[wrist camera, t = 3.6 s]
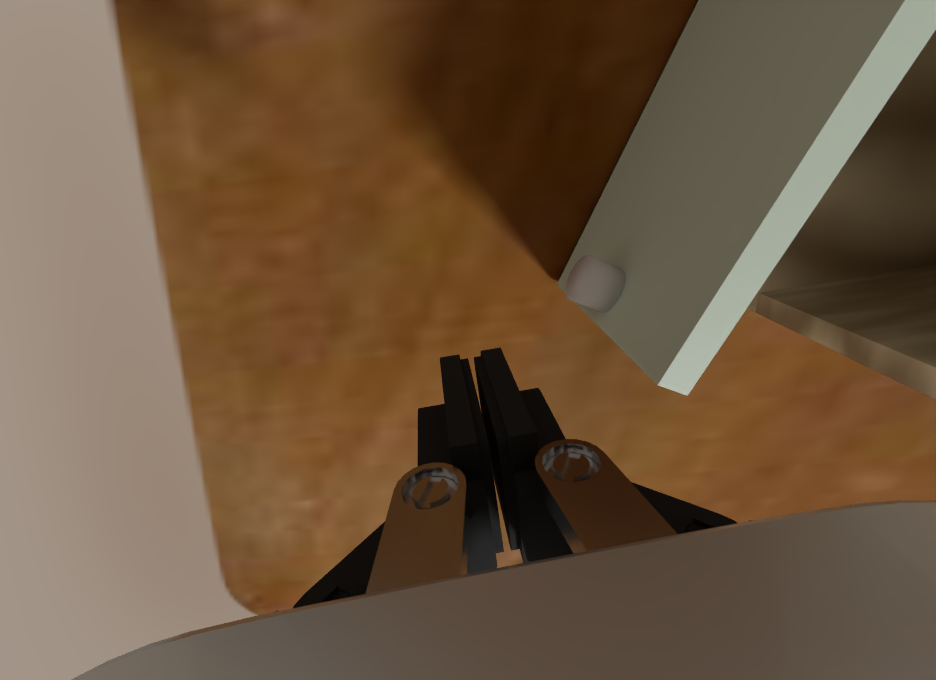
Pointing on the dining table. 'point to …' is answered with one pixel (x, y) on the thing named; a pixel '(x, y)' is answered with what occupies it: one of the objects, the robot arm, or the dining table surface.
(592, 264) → the door
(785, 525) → the robot arm
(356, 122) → the dining table surface
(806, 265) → the cabinet
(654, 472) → the dining table surface
